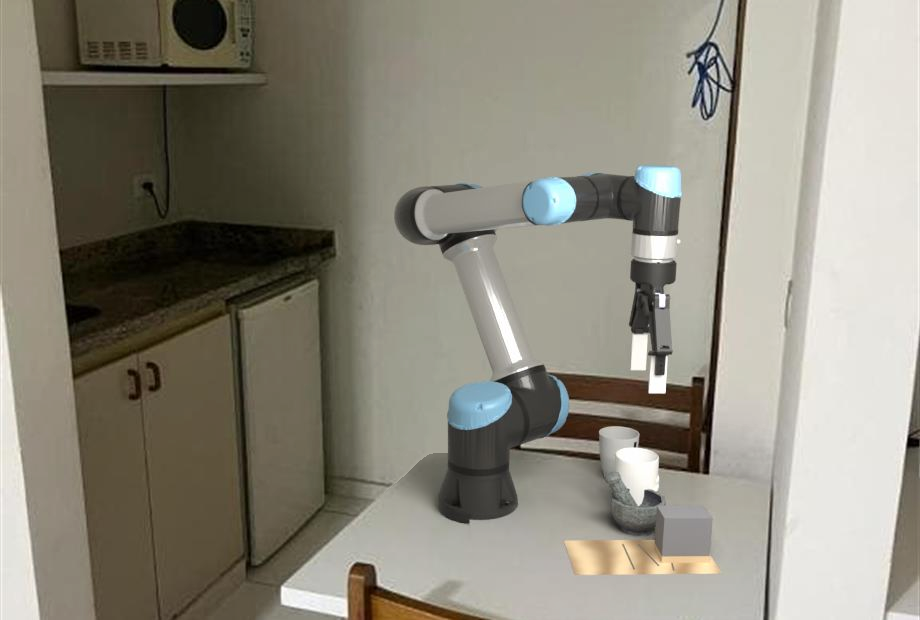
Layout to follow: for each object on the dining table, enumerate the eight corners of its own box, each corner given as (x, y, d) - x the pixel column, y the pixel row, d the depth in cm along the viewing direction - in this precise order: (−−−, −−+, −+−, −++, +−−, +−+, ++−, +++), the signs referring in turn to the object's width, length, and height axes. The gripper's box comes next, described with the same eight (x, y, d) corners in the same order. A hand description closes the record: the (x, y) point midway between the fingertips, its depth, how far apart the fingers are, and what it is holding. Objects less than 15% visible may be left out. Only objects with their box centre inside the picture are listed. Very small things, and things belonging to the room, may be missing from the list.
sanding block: (661, 563, 152) (664, 518, 151) (654, 549, 157) (656, 505, 156) (709, 562, 153) (712, 518, 151) (700, 548, 158) (703, 505, 156)
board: (574, 580, 149) (574, 574, 148) (563, 545, 160) (563, 540, 160) (721, 578, 150) (722, 573, 149) (699, 544, 161) (700, 539, 161)
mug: (642, 497, 181) (645, 439, 178) (662, 523, 169) (666, 462, 167) (601, 498, 180) (604, 440, 177) (619, 525, 168) (622, 463, 166)
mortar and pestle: (652, 520, 171) (655, 459, 168) (672, 543, 162) (676, 479, 159) (594, 524, 169) (597, 463, 166) (611, 548, 160) (615, 483, 157)
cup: (636, 488, 185) (639, 441, 183) (595, 484, 187) (598, 438, 184) (637, 473, 193) (639, 427, 191) (598, 469, 194) (600, 424, 192)
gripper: (697, 271, 142) (688, 403, 147) (657, 247, 166) (650, 361, 171) (649, 271, 142) (642, 403, 146) (616, 247, 166) (610, 361, 171)
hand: (646, 380), depth 159 cm, fingers open, 13 cm apart
